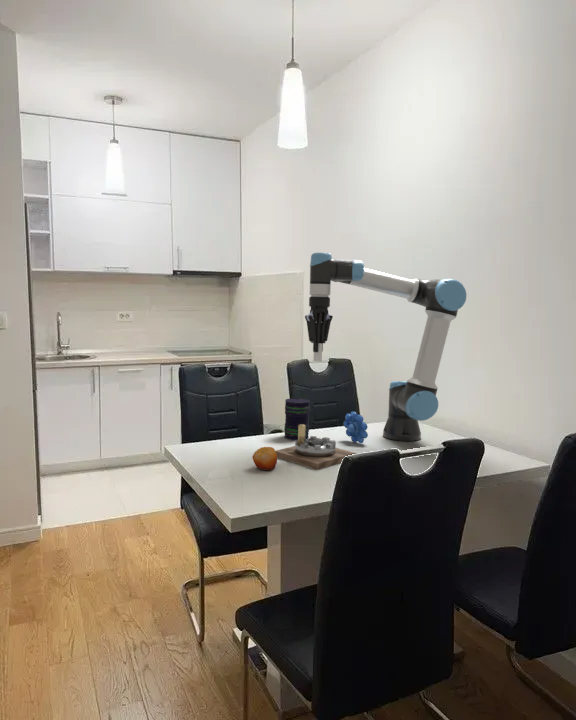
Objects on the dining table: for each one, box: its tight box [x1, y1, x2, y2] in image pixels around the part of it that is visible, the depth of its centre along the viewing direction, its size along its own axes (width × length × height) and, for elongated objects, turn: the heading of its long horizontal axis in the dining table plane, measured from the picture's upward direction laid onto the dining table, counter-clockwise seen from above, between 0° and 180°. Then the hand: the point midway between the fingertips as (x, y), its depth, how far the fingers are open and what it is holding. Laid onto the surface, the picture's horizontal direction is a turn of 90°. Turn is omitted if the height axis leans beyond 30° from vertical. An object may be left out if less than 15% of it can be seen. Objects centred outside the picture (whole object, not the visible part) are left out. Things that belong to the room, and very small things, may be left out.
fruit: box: [251, 446, 278, 471], centre depth 183 cm, size 8×8×8 cm
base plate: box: [275, 445, 356, 471], centre depth 197 cm, size 20×20×2 cm
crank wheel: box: [294, 424, 337, 457], centre depth 196 cm, size 14×14×10 cm
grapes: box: [343, 410, 369, 444], centre depth 219 cm, size 12×7×12 cm, turn 44°
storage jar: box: [283, 397, 311, 441], centre depth 224 cm, size 10×10×15 cm
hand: (317, 360), depth 207 cm, fingers closed
